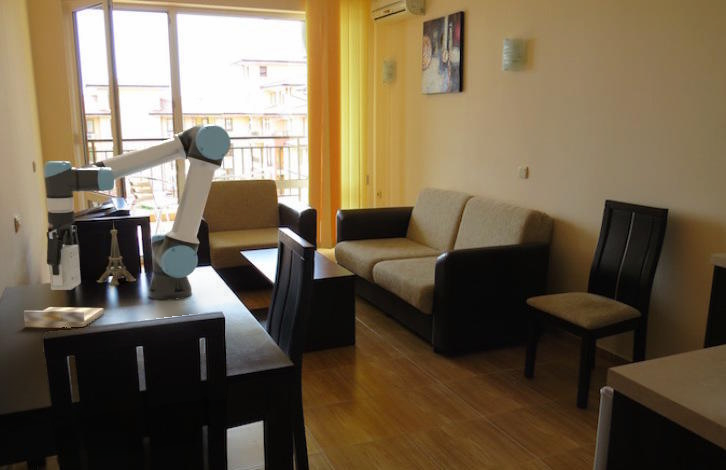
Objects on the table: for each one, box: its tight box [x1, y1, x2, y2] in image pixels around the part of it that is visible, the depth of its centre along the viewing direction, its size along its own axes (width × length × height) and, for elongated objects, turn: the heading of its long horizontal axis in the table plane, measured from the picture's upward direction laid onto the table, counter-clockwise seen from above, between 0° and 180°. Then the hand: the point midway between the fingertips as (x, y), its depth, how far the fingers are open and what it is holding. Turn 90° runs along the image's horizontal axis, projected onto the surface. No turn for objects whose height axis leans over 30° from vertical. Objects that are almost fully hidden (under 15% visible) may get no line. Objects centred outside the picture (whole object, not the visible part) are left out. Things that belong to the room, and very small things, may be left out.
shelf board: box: [23, 306, 105, 329], centre depth 183 cm, size 18×14×5 cm
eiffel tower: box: [96, 221, 137, 287], centre depth 230 cm, size 11×11×25 cm
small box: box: [48, 244, 82, 291], centre depth 183 cm, size 8×6×13 cm
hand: (65, 281), depth 183 cm, fingers closed on small box, 8 cm apart
